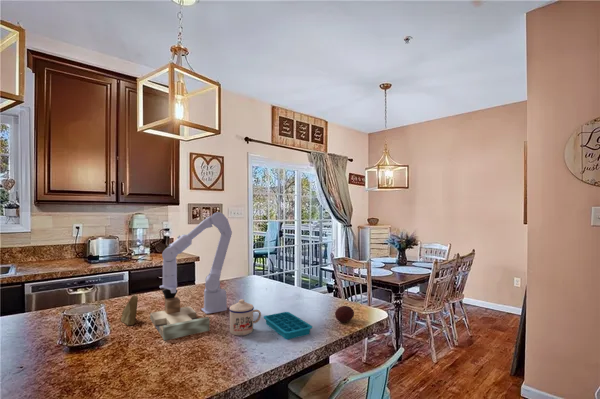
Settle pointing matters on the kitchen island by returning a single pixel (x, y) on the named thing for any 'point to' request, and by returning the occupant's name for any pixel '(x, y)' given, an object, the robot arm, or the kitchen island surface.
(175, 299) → the block
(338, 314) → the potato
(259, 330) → the kitchen island surface
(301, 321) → the ice cube tray
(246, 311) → the teacup with lid
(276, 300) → the kitchen island surface
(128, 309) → the rock
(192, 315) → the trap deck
